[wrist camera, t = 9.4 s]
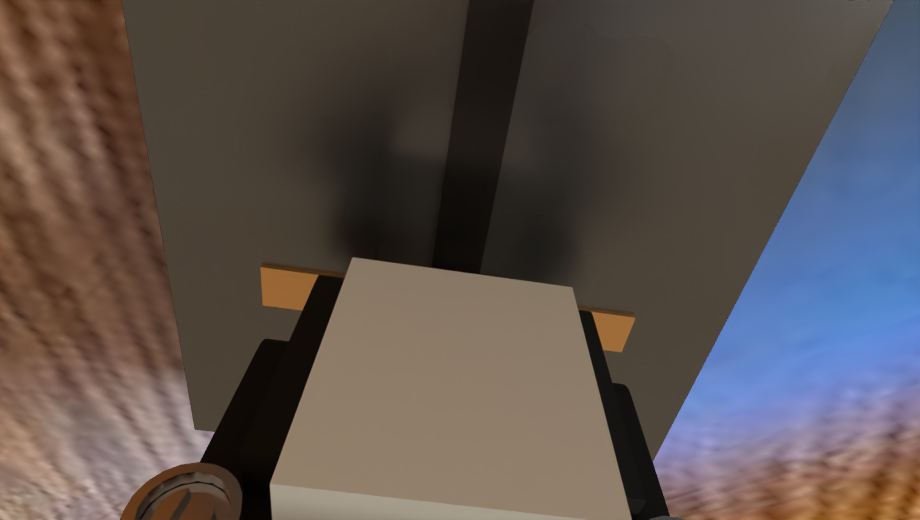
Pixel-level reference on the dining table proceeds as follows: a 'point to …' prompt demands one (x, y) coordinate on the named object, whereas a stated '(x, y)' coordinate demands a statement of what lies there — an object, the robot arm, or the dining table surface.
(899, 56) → the dining table surface
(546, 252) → the fader console
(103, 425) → the dining table surface
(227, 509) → the robot arm
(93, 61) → the dining table surface
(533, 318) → the fader knob
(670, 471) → the dining table surface
